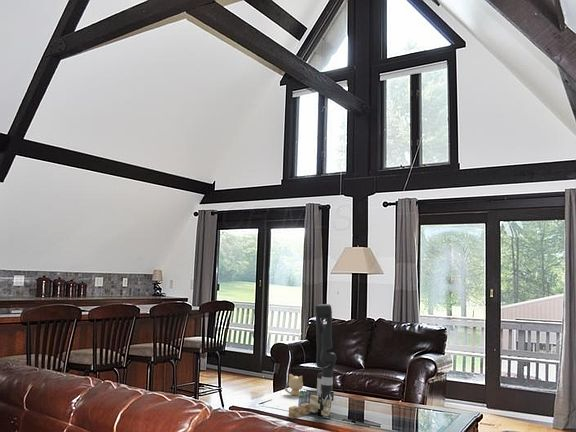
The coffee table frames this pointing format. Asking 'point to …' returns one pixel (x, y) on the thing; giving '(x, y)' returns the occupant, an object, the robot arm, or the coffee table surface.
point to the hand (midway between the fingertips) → (325, 409)
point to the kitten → (295, 385)
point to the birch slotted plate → (316, 405)
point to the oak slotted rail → (299, 410)
